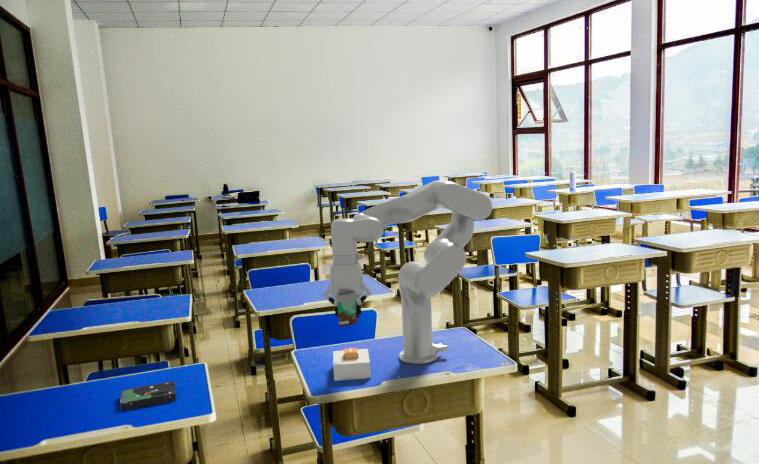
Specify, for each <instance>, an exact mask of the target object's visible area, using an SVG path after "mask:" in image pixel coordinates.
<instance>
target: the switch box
mask: <svg viewBox="0 0 759 464" xmlns="http://www.w3.org/2000/svg"><path fill="white" fill-rule="evenodd" d="M357 354H358V359H347V360H345V356H344V349H342V350H335V351H334V350H333V351H332V359H333V360H332V362H333V364H332V365H333V380H334V382H337V381H338V382H339V381H350V380H351V381H352V380H363V379H371V377H372V374H371V361H370V353H369V349H368V348H360V349H359V348H357Z"/></svg>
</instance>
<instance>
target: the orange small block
mask: <svg viewBox="0 0 759 464" xmlns="http://www.w3.org/2000/svg"><path fill="white" fill-rule="evenodd" d="M357 349H358V348H357V347H348V348H343V350H344V356H345V360H347V359H358V354H357Z"/></svg>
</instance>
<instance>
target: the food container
mask: <svg viewBox="0 0 759 464" xmlns="http://www.w3.org/2000/svg"><path fill="white" fill-rule="evenodd" d="M357 298H359V297H358V296H357V294H356V293H355V292H353V293H350V294H346V295H337V305H338V316H337V319H338V318H339V319H338V327H339V328H344V327H349V326H352V325H355V324H357V322H358V318H357V311H356V306H357V301H356V299H357Z"/></svg>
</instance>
